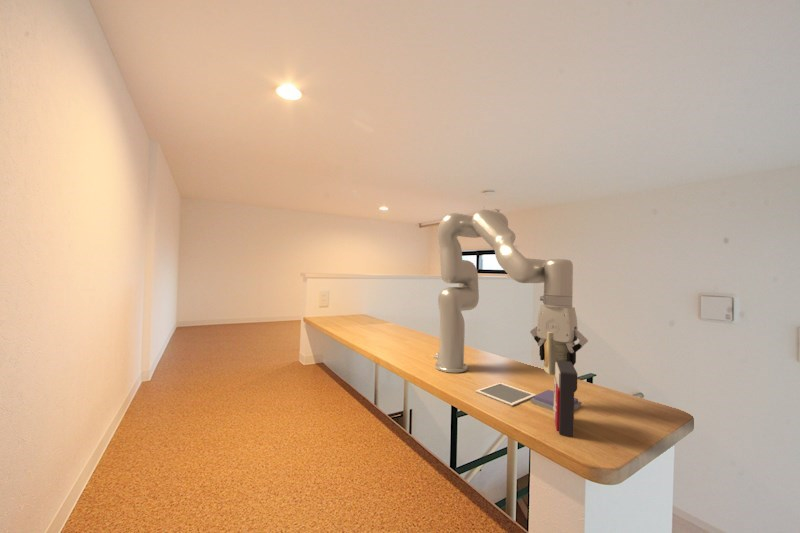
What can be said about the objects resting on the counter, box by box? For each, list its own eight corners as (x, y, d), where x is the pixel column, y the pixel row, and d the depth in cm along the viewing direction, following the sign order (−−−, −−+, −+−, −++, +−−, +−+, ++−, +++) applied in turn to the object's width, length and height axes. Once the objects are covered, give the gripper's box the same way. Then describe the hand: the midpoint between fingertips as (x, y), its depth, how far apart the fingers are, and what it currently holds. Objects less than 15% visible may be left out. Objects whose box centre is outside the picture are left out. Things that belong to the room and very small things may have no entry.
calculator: (552, 415, 87) (553, 359, 87) (570, 418, 85) (571, 361, 85) (555, 434, 77) (557, 371, 77) (576, 438, 75) (577, 373, 75)
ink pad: (530, 402, 95) (530, 395, 95) (547, 394, 101) (547, 388, 101) (565, 415, 87) (565, 407, 87) (581, 406, 93) (581, 399, 93)
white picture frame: (475, 392, 102) (475, 390, 102) (500, 383, 110) (500, 382, 110) (512, 406, 92) (512, 404, 92) (536, 396, 100) (536, 394, 100)
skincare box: (565, 371, 96) (565, 330, 96) (571, 376, 92) (572, 332, 92) (542, 370, 97) (543, 329, 97) (547, 374, 92) (548, 332, 92)
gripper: (523, 299, 99) (522, 357, 99) (583, 305, 85) (583, 372, 85) (536, 298, 104) (535, 354, 103) (595, 303, 90) (594, 367, 90)
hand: (556, 362), depth 94 cm, fingers closed on skincare box, 7 cm apart
